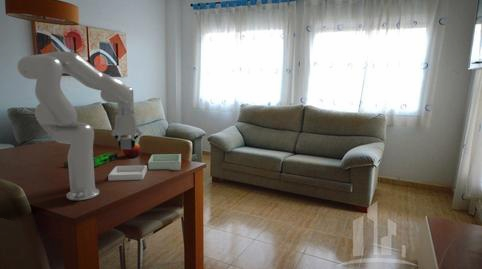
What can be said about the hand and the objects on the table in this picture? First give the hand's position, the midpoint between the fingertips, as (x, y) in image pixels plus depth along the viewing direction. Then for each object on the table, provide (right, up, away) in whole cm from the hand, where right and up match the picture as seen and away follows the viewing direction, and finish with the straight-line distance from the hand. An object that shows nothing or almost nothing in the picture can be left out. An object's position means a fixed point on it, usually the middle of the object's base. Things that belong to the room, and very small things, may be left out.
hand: (127, 147), depth 156 cm
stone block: (0, 0, 0) cm, 0 cm away
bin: (+14, -12, +23) cm, 30 cm away
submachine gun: (-34, -11, +27) cm, 45 cm away
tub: (0, -15, +3) cm, 15 cm away
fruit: (-13, -8, +44) cm, 46 cm away
